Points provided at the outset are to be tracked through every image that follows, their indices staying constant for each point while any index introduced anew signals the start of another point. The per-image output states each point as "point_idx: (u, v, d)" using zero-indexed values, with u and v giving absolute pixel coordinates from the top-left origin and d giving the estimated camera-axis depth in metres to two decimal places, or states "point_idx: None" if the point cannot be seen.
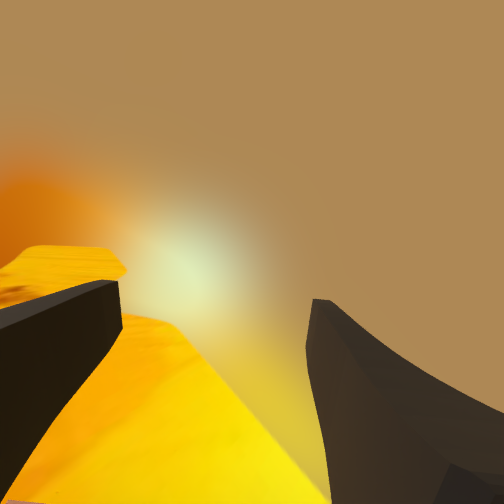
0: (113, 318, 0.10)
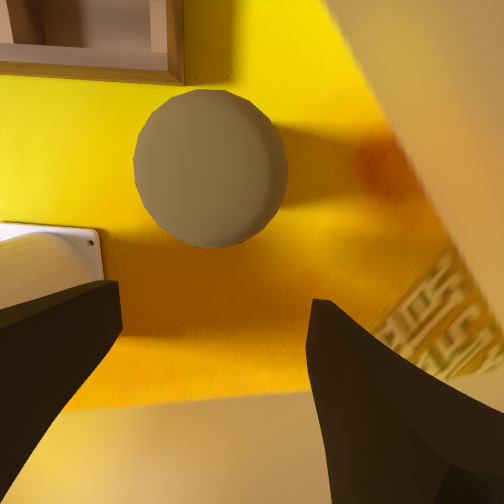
0: (113, 318, 0.10)
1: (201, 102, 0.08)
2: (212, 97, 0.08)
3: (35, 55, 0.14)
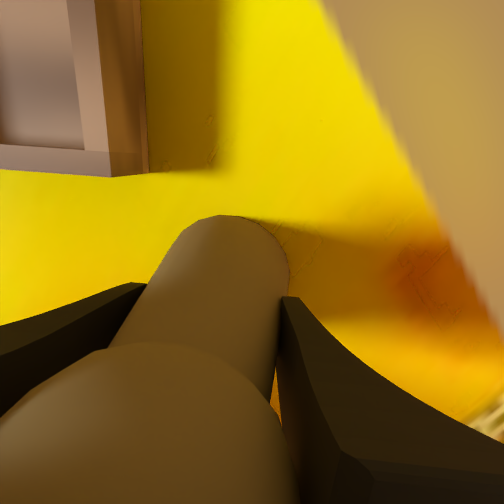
0: None
1: None
2: None
3: None
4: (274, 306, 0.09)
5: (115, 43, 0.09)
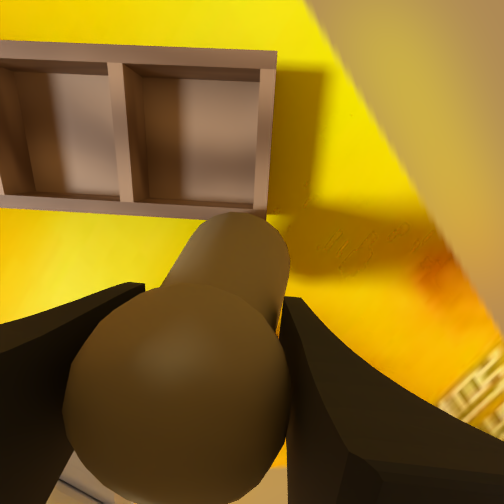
0: None
1: (155, 354, 0.05)
2: (172, 345, 0.05)
3: (151, 211, 0.17)
4: (276, 279, 0.11)
5: None
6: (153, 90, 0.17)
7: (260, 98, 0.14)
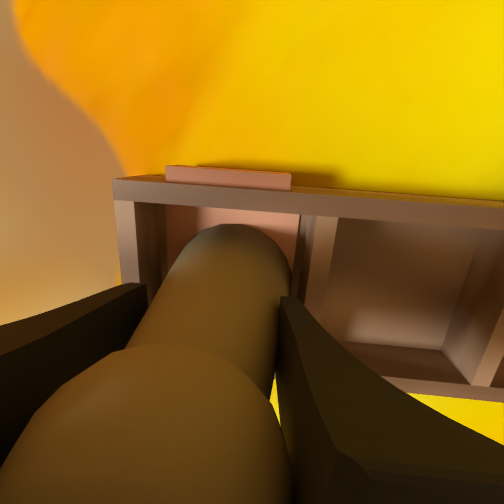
0: None
1: (87, 488, 0.03)
2: (112, 474, 0.03)
3: None
4: (274, 308, 0.09)
5: None
6: None
7: None
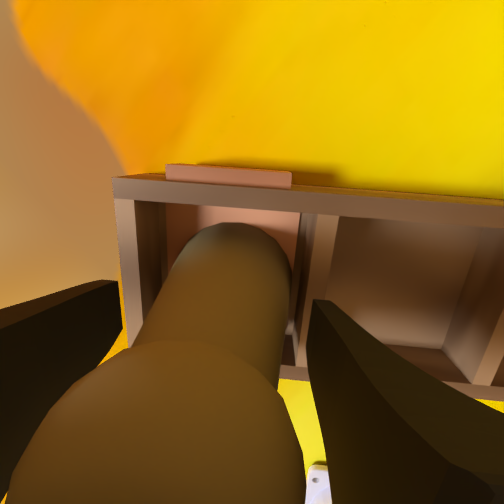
0: (113, 318, 0.10)
1: (111, 482, 0.03)
2: (136, 467, 0.03)
3: None
4: (278, 304, 0.09)
5: None
6: None
7: None
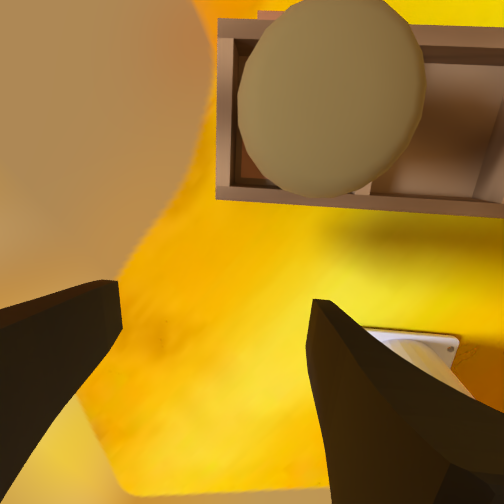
0: (113, 318, 0.10)
1: (337, 0, 0.06)
2: None
3: None
4: None
5: None
6: None
7: None
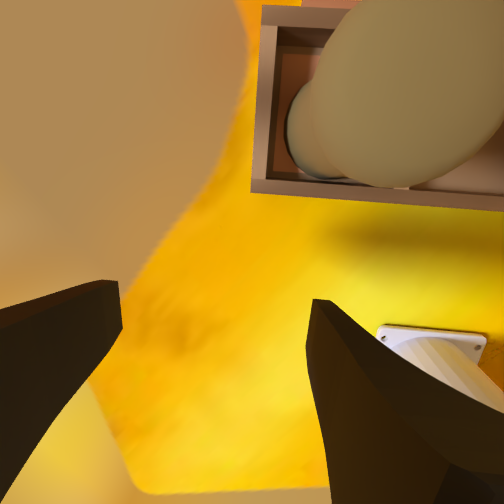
0: (113, 318, 0.10)
1: None
2: None
3: None
4: None
5: None
6: None
7: None
